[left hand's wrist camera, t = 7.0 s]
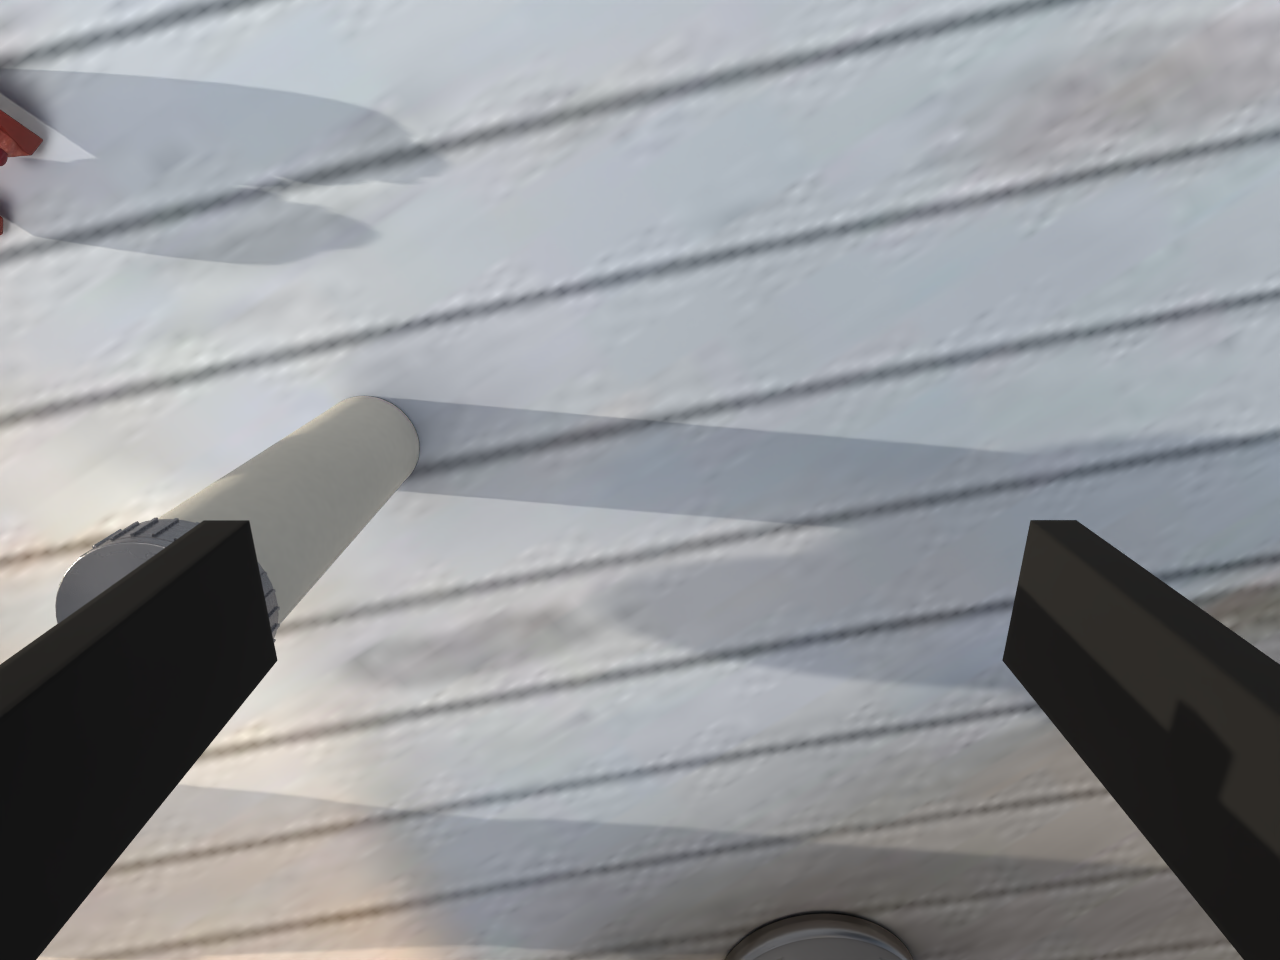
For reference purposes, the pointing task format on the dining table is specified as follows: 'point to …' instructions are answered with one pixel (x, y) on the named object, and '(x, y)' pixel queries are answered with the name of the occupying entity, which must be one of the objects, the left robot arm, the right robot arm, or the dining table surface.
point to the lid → (131, 565)
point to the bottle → (313, 491)
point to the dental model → (15, 142)
